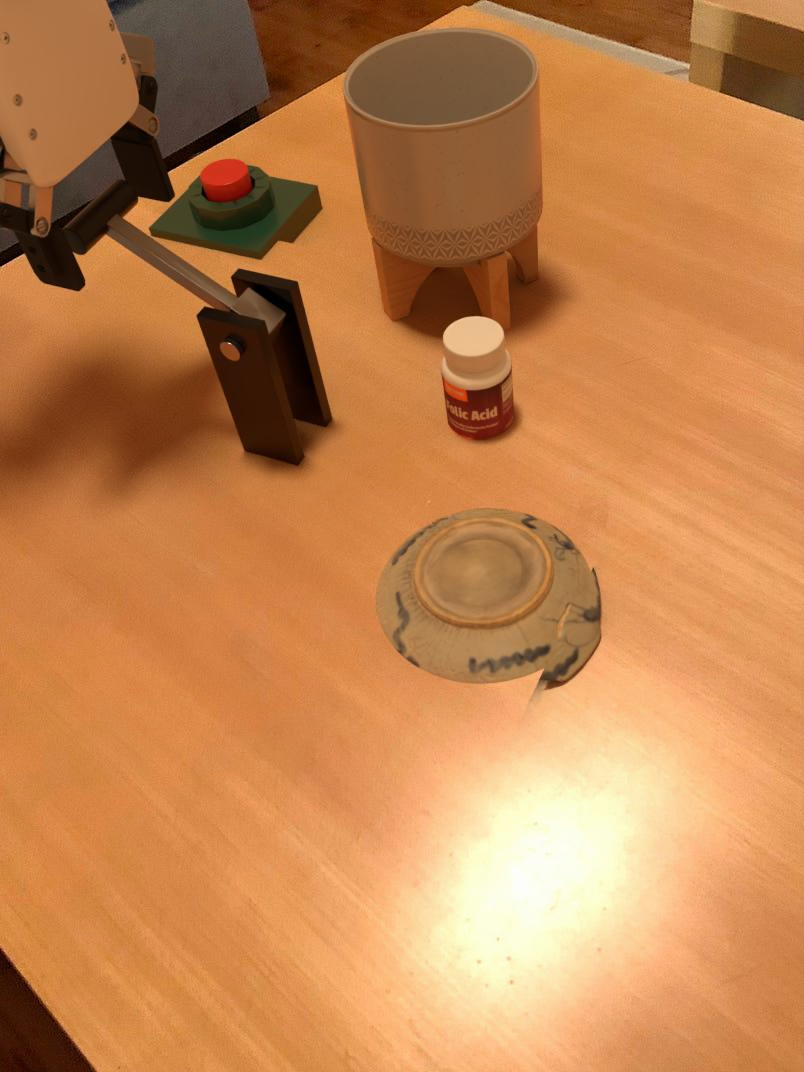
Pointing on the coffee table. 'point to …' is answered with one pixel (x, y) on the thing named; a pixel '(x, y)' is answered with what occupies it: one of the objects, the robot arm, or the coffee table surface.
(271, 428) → the bracket
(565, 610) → the decorative bowl
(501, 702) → the coffee table surface
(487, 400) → the pill bottle
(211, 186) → the button
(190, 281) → the lever
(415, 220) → the planter
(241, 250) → the button box
